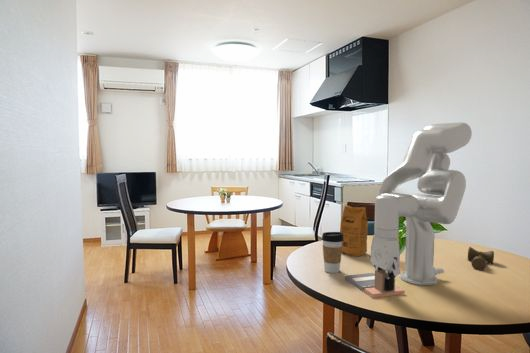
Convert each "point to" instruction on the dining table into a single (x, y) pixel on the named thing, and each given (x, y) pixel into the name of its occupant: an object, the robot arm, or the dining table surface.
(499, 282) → the dining table surface
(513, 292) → the dining table surface
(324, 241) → the coffee cup
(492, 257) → the kendama
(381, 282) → the cube on pink base
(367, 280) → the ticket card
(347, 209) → the coffee package
